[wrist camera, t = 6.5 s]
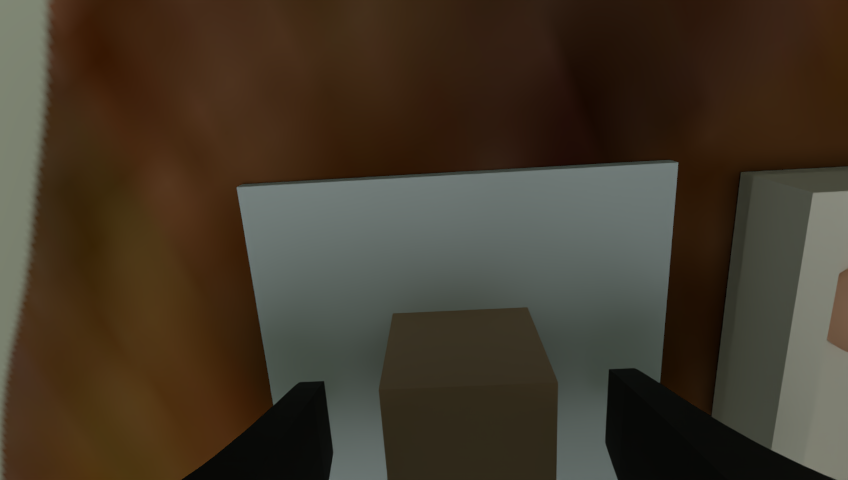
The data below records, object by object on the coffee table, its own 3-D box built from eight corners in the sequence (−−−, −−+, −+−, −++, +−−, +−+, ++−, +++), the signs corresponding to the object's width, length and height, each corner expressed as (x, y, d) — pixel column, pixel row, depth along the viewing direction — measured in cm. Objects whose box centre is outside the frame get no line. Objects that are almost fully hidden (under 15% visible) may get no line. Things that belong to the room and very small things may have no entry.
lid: (660, 156, 13) (769, 192, 9) (635, 494, 16) (708, 642, 12) (250, 179, 14) (164, 224, 9) (302, 504, 17) (256, 652, 12)
